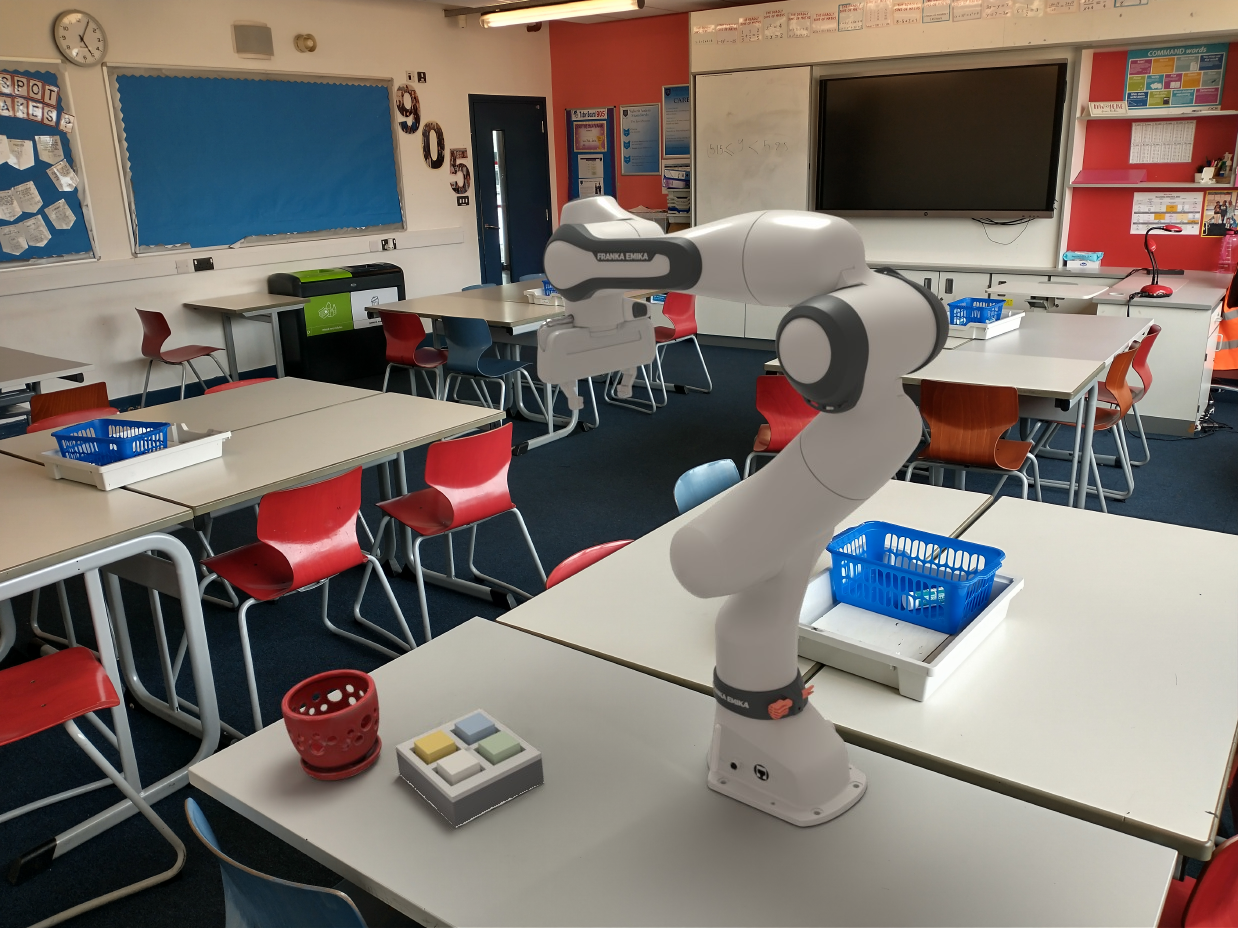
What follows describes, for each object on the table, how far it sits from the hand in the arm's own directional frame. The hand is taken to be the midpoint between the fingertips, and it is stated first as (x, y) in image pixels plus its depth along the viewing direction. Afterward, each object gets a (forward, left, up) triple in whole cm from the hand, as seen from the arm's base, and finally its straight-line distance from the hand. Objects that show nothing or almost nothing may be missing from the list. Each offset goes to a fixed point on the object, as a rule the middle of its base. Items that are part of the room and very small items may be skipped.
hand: (601, 402), depth 143 cm
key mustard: (-2, +35, -44) cm, 56 cm away
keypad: (-6, +32, -48) cm, 57 cm away
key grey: (-9, +35, -44) cm, 57 cm away
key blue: (-2, +28, -44) cm, 53 cm away
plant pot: (+11, +44, -48) cm, 66 cm away
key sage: (-9, +28, -44) cm, 53 cm away
